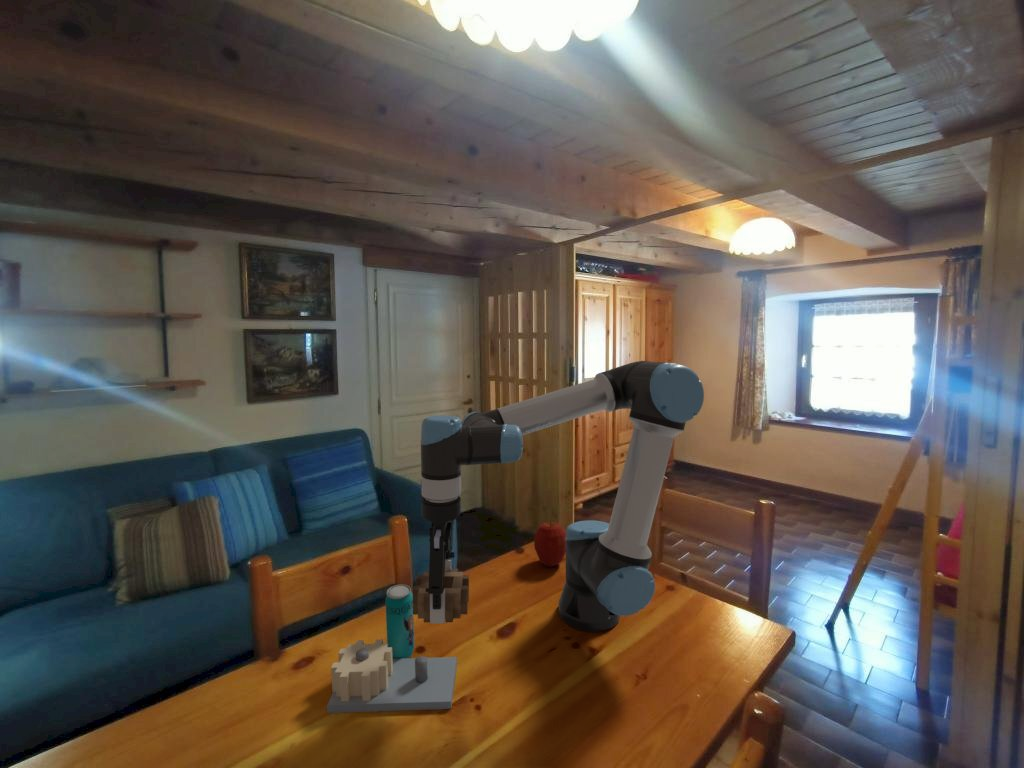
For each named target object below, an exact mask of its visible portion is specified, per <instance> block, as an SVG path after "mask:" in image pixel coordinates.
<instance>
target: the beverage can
mask: <svg viewBox="0 0 1024 768" xmlns="http://www.w3.org/2000/svg"><path fill="white" fill-rule="evenodd" d="M384 599H385V600H384V601H385V622H386V643H388V647H392V658H393V659H402V658H411V657H412V655H413V652H414V650H415V625H414V614H413V591H412V589H411V586H409V585H407V584H402V583H401V584H395V585H393V586H391V587H389V588H388V589H387V591H386V597H385V598H384Z"/></svg>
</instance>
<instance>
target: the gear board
mask: <svg viewBox="0 0 1024 768" xmlns="http://www.w3.org/2000/svg"><path fill="white" fill-rule="evenodd" d="M457 668H458V658H457V656H447V657H446V656H445V657H443V656H442V657H426V656H425V655H420V656H417V657H412V658H411V657H410V658H402V659H393V658H392V647H388V643H387V642H384V639H375V641H374V642H373V643H364V639H357V640H356V641H355V643H349V644H348V645H347V646H346V648H345V647H344V648H340V650H339V651H338V661H335V662H332V665H331V667H330V673H331V674H330V675H331V691H332V694H331V696H330V698H329V701H328V703H327V704H326V708H327V709H326V710H327V714H331V713H333V714H334V713H358V712H359V713H360V712H389V711H393V712H394V711H422V710H423V711H424V710H428V711H429V710H451V709H452V706H453V705H452V704H453V699H454V691H455V683H456V673H457Z"/></svg>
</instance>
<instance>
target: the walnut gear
mask: <svg viewBox="0 0 1024 768" xmlns="http://www.w3.org/2000/svg"><path fill="white" fill-rule="evenodd" d="M444 587H445V623H453V622H454V619H461V616H462V615H468V610H469V609H468V605H469V604H468V603H469V600H470V599H469V598H470V593H469V592H470V575H469V574H464V571H459V569H458V568H451V571H450V572H445V576H444ZM426 588H429V571H424V572H423V574H417V575H416V581H415V585H413V587H412V595H413V615H417V619H421V620H422V619H423V623H430V594H428V592H426Z"/></svg>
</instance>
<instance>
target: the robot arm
mask: <svg viewBox="0 0 1024 768" xmlns="http://www.w3.org/2000/svg"><path fill="white" fill-rule="evenodd" d="M704 400H705V391H704V387H703V383H702V381H701V380H700V378H699V376H698V374H697V373H696V372H695V371H694V370H692V369H691V368H690V367H688V366H686V365H684V364H683V365H682V364H678V363H675V362H662V361H661V362H660V361H648V360H638V361H637V360H636V361H634V362H632V361H631V362H629V363H626V364H623V365H620V366H617V367H614V368H611V369H609V370H605V371H603V372H598V373H597V374H595V376H594V378H593V379H590V380H586V381H583V382H579V383H577V384H574V385H571V386H567V387H563V388H560V389H557V390H554V391H551V392H550V391H549V392H548V393H544V394H542V395H538V396H535V397H531V398H528V399H524V400H521V401H518V402H515V403H511V404H508V405H505V406H502V407H499V408H495V409H491V410H488V411H485V412H481V411H472V412H470V413H468V414H466V415H465V416H464V417H463V418H462V419H461V418H460V417H458V416H456V415H451V414H450V415H445V414H440V415H439V414H437V415H430V416H427V417H426V418H424V419H423V421H422V422H421V431H420V433H421V434H420V436H421V437H420V469H421V473H420V474H421V478H420V479H418V484H419V485H422V486H421V496H422V498H421V502H420V504H421V505H420V507H421V508H420V511H421V514H420V515H421V517H422V518H423V520H424V521H427V522H431V527H430V528H429V563H428V564H429V566H428V567H429V568H428V570H429V571H428V572H429V588H426V592H428V594H430V622H429V624H431V625H436V624H441V625H443V624H446V622H445V587H444V576H445V572H450V571H451V569H452V559H454V558H455V552H454V551H453V552H452V550H453V545H452V543H453V542H452V535H453V534H452V531H453V522H452V521H454V520H456V519H458V518H459V517H460V515H461V513H462V511H461V509H462V508H461V507H462V506H461V504H462V503H461V501H462V500H461V497H460V496H461V494H462V473H461V472H462V470H461V469H462V466H473V465H474V466H475V465H476V466H477V465H493V464H503V465H504V464H509V463H515V462H518V461H520V459H521V458H522V456H523V451H524V440H523V436H525V435H528V434H531V433H534V432H538V431H541V430H543V429H546V428H550V427H554V426H555V425H559V424H562V423H565V422H570V421H571V420H575V419H578V418H581V417H584V416H587V415H591V414H594V413H598V412H600V411H605V412H607V413H611V412H615V411H617V410H624V409H627V410H629V409H630V411H629V416H628V419H629V420H630V422H631V424H632V426H633V429H632V433H631V437H630V440H629V445H628V448H627V453H626V457H625V460H624V465H623V469H622V473H621V478H620V481H619V485H618V488H617V493H616V496H615V500H614V503H613V509H612V513H611V517H610V519H609V522H605V521H601V520H592V519H591V520H580V521H579V520H578V521H575V522H573V523H571V524H569V525H567V527H566V530H565V532H566V538H565V540H566V552H565V582H564V586H563V588H562V592H561V594H560V598H559V600H558V614H559V617H560V619H561V620H562V621H563V622H564V623H565V624H566V625H568V626H570V627H571V628H574V629H575V630H576V629H577V630H580V631H583V632H604V631H607V630H610V629H612V628H614V627H615V626H616V625H617V624H618V623H619V621H620V619H621V617H628V616H632V615H636V614H637V613H638V612H640V611H641V610H644V609H645V607H647V606H648V605H649V604H650V602H651V600H653V597H654V595H655V592H656V582H655V579H654V577H653V573H651V572H650V571H649V568H650V564H651V561H652V551H651V548H649V546H648V541H649V537H650V533H651V530H652V525H653V521H654V518H655V513H656V511H657V510H656V509H657V505H658V502H659V499H660V494H661V491H662V487H663V482H664V478H665V474H666V470H667V466H668V462H669V459H670V455H671V451H672V446H673V443H674V439H675V438H676V437H677V436H678V435H680V434H682V433H683V432H684V431H685V426H686V423H687V422H690V421H691V420H692V419H693V418H694V416H697V415H699V413H700V411H701V409H702V407H703V404H704Z"/></svg>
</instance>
